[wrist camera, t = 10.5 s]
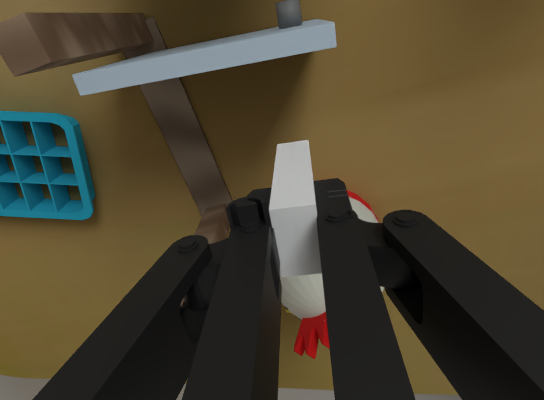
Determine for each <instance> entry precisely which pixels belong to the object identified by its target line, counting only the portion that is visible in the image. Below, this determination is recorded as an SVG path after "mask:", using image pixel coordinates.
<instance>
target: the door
mask: <svg viewBox="0 0 544 400" xmlns="http://www.w3.org/2000/svg"><path fill="white" fill-rule="evenodd" d="M275 4H276V11H277V17H278V24H279V27H275V28H270V29H265V30H260V31H255V32H250V33H245V34H240V35H235V36H230V37H225V38H220V39H216V40H211V41H206V42H201V43H196V44H191V45H186V46H181V47H176V48H171V49H166V50H161V51H156V52H152V53H149V54H145V55H141V56H138V57H134V58H131V59H127V60H123V61H120V62H116V63H113V64H109V65H105V66H102V67H98V68H94V69H91V70H87V71H84V72H80V73H76V74H73V75H72V76H73V79H74V81H75V84H76V86H77V88H78V91H79V93H80V96H82V95H88V94H93V93H98V92H103V91H109V90H114V89H119V88H124V87H129V86H135V85H140V84H145V83H150V82H156V81H161V80H166V79H171V78H176V77H182V76H187V75H192V74H197V73H203V72H208V71H213V70H218V69H224V68H229V67H234V66H239V65H244V64H250V63H255V62H260V61H265V60H271V59H276V58H281V57H286V56H291V55H297V54H302V53H307V52H312V51H318V50H323V49H328V48H333V47H337V45H336V34H335V24H334V22H330V21H325V20H320V19H314V20H309V21H304V22H302V18H301V10H300V2H299V0H287V1H282V2H278V3H275Z"/></svg>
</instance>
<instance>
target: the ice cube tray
mask: <svg viewBox="0 0 544 400" xmlns="http://www.w3.org/2000/svg"><path fill="white" fill-rule="evenodd" d="M22 121H29V122H30V125H31V128H32V132H33V135H34V138H35V142H36V145H29V144H28V141H27V138H26V134H25V131H24V128H23V124H22ZM50 122H51V123H54V124H57V125H60V126H61V127H62V128H63V129H64V130H65V134H66V138H67V142H68V146H69V147H64V146H56V143H55V139H54V135H53V131H52V127H51V123H50ZM0 125H1V128H2V132H3V135H4V138H5V141H6V144H1V142H0V216H12V217H32V218H52V219H71V220H84V219H87V218H90V217H91V216H92V214H93V211H94V208H93V203H92V200H93V199H94V197H95V192H94V188H93V183H92V179H91V174H90V170H89V165H88V161H87V156H86V152H85V147H84V143H83V138H82V134H81V129H80V125H79V123H78V122H77V121H76V120H75V119H74V118H72V117H69V116H66V115H61V114H58V113H38V112H13V111H0ZM5 154H9V155H10V156H11V159H12V162H13V165H14V168H15V171H10V169H9V166H8V163H7V160H6V157H5ZM32 156H40V159H41V163H42V166H43V170H44V172H37V171H36V168H35V164H34V161H33V158H32ZM59 157H71V158H72V162H73V167H74V171H75V174H70V173H63V169H62V166H61V162H60V158H59ZM14 183H20V186H21V189H22V192H23V195H24V198H19V196H18V193H17V190H16V187H15V184H14ZM40 184H48V187H49V190H50V194H51V197H52V199H45V198H44V195H43V191H42V188H41V185H40ZM67 185H76V186H78V187H79V191H80V195H81V199H82V201H81V200H70V196H69V192H68V189H67Z"/></svg>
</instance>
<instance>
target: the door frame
mask: <svg viewBox="0 0 544 400" xmlns="http://www.w3.org/2000/svg"><path fill="white" fill-rule="evenodd" d="M166 49H167V47H166V45H165V42H164V40H163V38H162V35H161V33H160V31H159V28H158V26H157V24H156V21H155V19H154V17H150V18H148V19H145V17H144V15H143V13H22V14H20V15H17V16H15V17H13V18H10V19H8V20H6V21H4V22H1V23H0V54H1V56H2V58H3V59H4V61H5V62H6V64H7V66H8V67H9V69H10V70H11V72H12V74H13V75H14V77H15V76H20V75H24V74H29V73H33V72H37V71H42V70H46V69H51V68H55V67H59V66H64V65H68V64H73V63H77V62H81V61H86V60H90V59H95V58H99V57H103V56H108V55H112V54H117V53H121V52H123V53H124V55H125V57H126V59H131V58H134V57H138V56H141V55H145V54H149V53H152V52H156V51H161V50H166ZM139 86H140V88H141V90H142V92H143V94H144V96H145V98H146V100H147V102H148V105H149V107H150V109H151V111H152V113H153V115H154V117H155V119H156V121H157V123H158V125H159V127H160V129H161V132H162V134H163V136H164V138H165V140H166V142H167V144H168V146H169V148H170V150H171V152H172V154H173V157H174V159H175V161H176V163H177V165H178V167H179V169H180V171H181V173H182V175H183V177H184V179H185V181H186V184H187V186H188V188H189V190H190V192H191V194H192V196H193V198H194V200H195V202H196V204H197V206H198V208H199V211H200V213H201V215H202V219H201V221H200V223H199V225H198V228H197V230H196V232H195V235H201V236H204V237H206V238H207V239H208V243H209V244H212V243H215V242H219V241H222V240H224V239H226V237H227V233H228V230H229V226H230V224H229V220H228V216H227V212H226V207H227V205H228V204H229V203H231V202H232V199H231V196H230V194H229V192H228V189H227V187H226V185H225V182H224V180H223V178H222V175H221V173H220V171H219V168H218V166H217V164H216V161H215V159H214V157H213V154H212V152H211V150H210V147H209V145H208V143H207V140H206V138H205V136H204V133H203V131H202V129H201V126H200V124H199V122H198V119H197V117H196V115H195V112H194V110H193V108H192V105H191V103H190V101H189V98H188V96H187V94H186V91H185V89H184V87H183V84H182V82H181V80H180V77H176V78H171V79H166V80H161V81H156V82H150V83H145V84H140V85H139ZM184 301H185V300H184V298H183V300H182V302H181V305H182V304H183V302H184Z"/></svg>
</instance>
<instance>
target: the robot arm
mask: <svg viewBox="0 0 544 400" xmlns="http://www.w3.org/2000/svg"><path fill="white" fill-rule="evenodd" d="M226 212H227V216H228V220H229V224H230V228H231V231H230V235H229V237H228V238H226V239H224V240H222V241H219V242H215V243H212V244H209V243H208V239H207V238H206V237H204V236H201V235H190V236H187V237H183V238H181V239H180V240H178V241H176V242H174V243H173V244H172V245H171V246H170V247H169V248H168V249H167V250H166V251H165V253H164V254H163V255H162V256H161V257H160V258H159V259H158V260H157V261H156V263H155V264H154V265H153V266H152V267H151V268H150V269H149V270H148V271H147V273H146V274H145V275H144V276H143V277H142V278H141V279H140V280H139V282H138V283H137V284H136V285H135V286H134V287H133V288H132V289H131V290H130V292H129V293H128V294H127V295H126V296H125V297H124V298H123V299H122V300H121V302H120V303H119V304H118V305H117V306H116V307H115V308H114V309H113V310H112V312H111V313H110V314H109V315H108V316H107V317H106V318H105V319H104V321H103V322H102V323H101V324H100V325H99V326H98V327H97V328H96V329H95V331H94V332H93V333H92V334H91V335H90V336H89V337H88V338H87V339H86V341H85V342H84V343H83V344H82V345H81V346H80V347H79V348H78V349H77V351H76V352H75V353H74V354H73V355H72V356H71V357H70V358H69V360H68V361H67V362H66V363H65V364H64V365H63V366H62V367H61V368H60V370H59V371H58V372H57V373H56V374H55V375H54V376H53V377H52V378H51V380H50V381H49V382H48V383H47V384H46V385H45V386H44V388H42V390H41V391H40V392H39V393H38V394H37V395H36V396H35V398H34V399H33V400H176V398H177V397H178V395H179V393H180V391H181V390H182V388H183V386H184V384H185V382H186V380H187V378H188V380H187V384H186V387H185V391H184V394H183V397H182V400H277V398H278V373H279V348H280V322H281V297H282V285H281V280H280V270H281V275H282V277H290V276H300V275H310V274H321V273H322V280H323V289H324V299H325V308H326V318H327V328H328V337H329V347H330V356H331V366H332V375H333V385H334V394H335V400H415V397H414V393H413V390H412V387H411V384H410V381H409V378H408V374H407V371H406V368H405V365H404V362H403V358H402V355H401V352H400V349H399V346H398V342H397V339H396V336H395V333H394V330H393V327H392V323H391V320H390V317H389V314H388V311H387V307H386V304H385V301H384V298H383V295H382V292H381V288H380V287H385V291H386V293H387V295H388V296H389V298H390V299H391V301H392V302H393V303H394V305H395V306H396V308H397V309H398V310H399V312H400V313H401V315H402V316H403V317H404V319H405V320H406V322H407V323H408V324H409V326H410V327H411V329H412V330H413V331H414V333H415V334H416V336H417V337H418V338H419V340H420V341H421V343H422V344H423V345H424V347H425V348H426V350H427V351H428V352H429V354H430V355H431V357H432V358H433V359H434V361H435V362H436V364H437V365H438V366H439V368H440V369H441V371H442V372H443V373H444V375H445V376H446V378H447V379H448V380H449V382H450V383H451V385H452V386H453V387H454V389H455V390H456V392H457V393H458V394H459V396H460V397H461V399H462V400H544V310H542V309H541V308H540V307H539V306H537V305H536V304H535V303H534V302H532V301H531V300H530V299H529V298H527V297H526V296H525V295H524V294H523V293H521V292H520V291H519V290H518V289H516V288H515V287H514V286H513V285H511V284H510V283H509V282H508V281H506V280H505V279H504V278H503V277H501V276H500V275H499V274H498V273H497V272H495V271H494V270H493V269H492V268H490V267H489V266H488V265H487V264H485V263H484V262H483V261H482V260H480V259H479V258H478V257H477V256H475V255H474V254H473V253H472V252H471V251H469V250H468V249H467V248H466V247H464V246H463V245H462V244H461V243H459V242H458V241H457V240H456V239H454V238H453V237H452V236H451V235H449V234H448V233H447V232H446V231H445V230H443V229H442V228H441V227H440V226H438V225H437V224H436V223H435V222H433V221H432V220H431V219H430V218H428V217H427V216H426V215H424V214H422V213H420V212H416V211H412V210H399V211H394V212H391V213H389V214H387V215H386V216H385V217H384V218H383V223H373V222H367V221H363V220H361V219H359V218H358V215H357V214H356V212H355V211H354V210H353V209H352V206H351V203H350V200H349V196H348V193H347V190H346V186H345V183H344V182H343V181H341V180H340V179H338V178H335V179H327V180H319V181H313V173H312V165H311V157H310V149H309V141H308V140H303V141H296V142H289V143H282V144H277V150H276V158H275V166H274V174H273V181H272V188H264V189H257V190H253V191H252V192H250V193H249V194H248V195H247V197H243V198H239V199H237V200H234V201H232V202H231V203H229V204H228V205H227V207H226ZM183 298H184V300H185V301H184V302H183V304H182V305H181V302H182V300H183Z"/></svg>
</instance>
